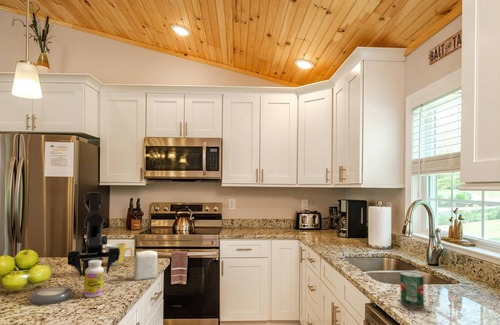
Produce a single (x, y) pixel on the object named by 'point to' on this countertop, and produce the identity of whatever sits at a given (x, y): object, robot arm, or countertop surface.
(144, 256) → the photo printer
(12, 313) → the countertop surface
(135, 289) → the countertop surface
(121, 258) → the mug
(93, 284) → the supplement bottle
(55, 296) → the charcoal trivet
